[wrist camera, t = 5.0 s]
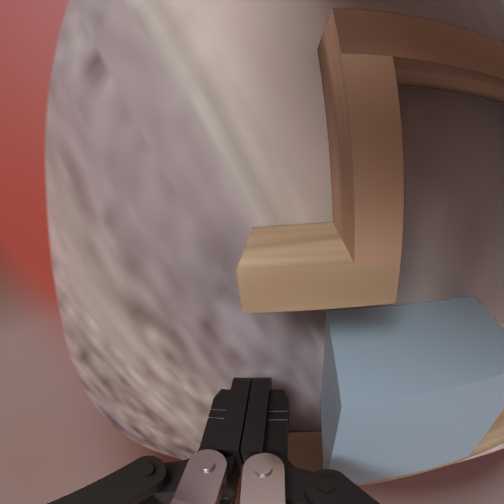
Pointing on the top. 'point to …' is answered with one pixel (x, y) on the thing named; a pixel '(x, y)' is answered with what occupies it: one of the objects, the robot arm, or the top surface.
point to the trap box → (364, 176)
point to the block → (408, 386)
